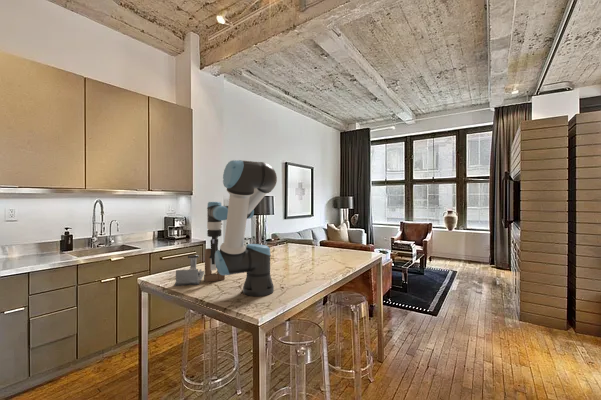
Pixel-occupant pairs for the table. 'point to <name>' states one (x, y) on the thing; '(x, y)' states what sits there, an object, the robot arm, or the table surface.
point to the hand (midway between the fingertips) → (214, 266)
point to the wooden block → (208, 272)
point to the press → (188, 277)
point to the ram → (193, 261)
